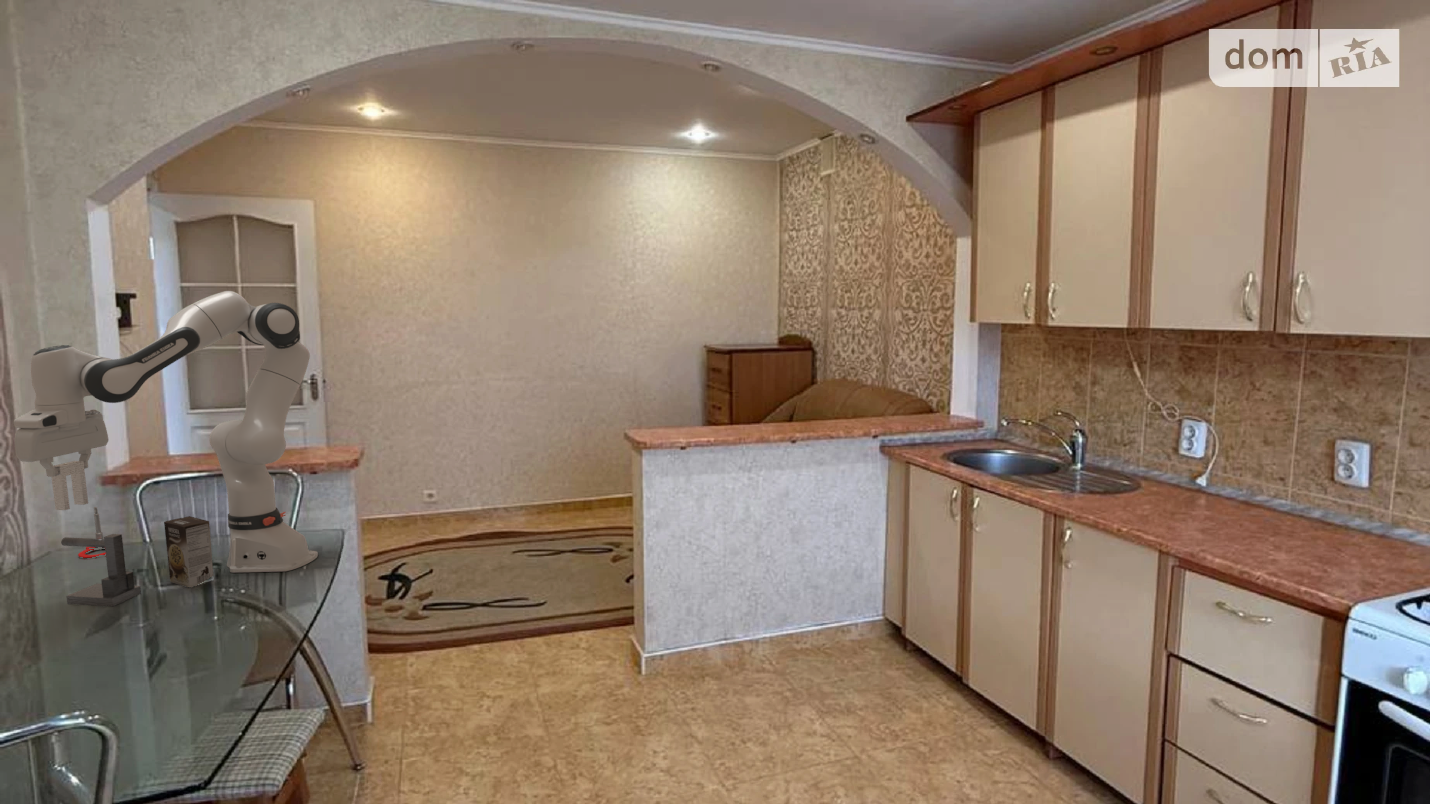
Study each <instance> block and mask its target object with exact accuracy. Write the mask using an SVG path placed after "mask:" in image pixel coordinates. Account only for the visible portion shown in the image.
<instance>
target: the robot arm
mask: <svg viewBox="0 0 1430 804" xmlns="http://www.w3.org/2000/svg"><path fill="white" fill-rule="evenodd" d="M235 333H238V334H239V335H240V336H242V337H243V338H244V339H246V340H247V341H248V342H250V343H251V344H254V345H258V346H264V357H263V361H262V363H260V365H259V368H258V369H257V371H256V373H255V375H254V377H253V380H252V381H251V383H250V385H249V387H248V389H247V391H246V393H245V401H246V405H245V407H246V408H245V411H244V416H243V418H242V419H241V420H240V419H231V420H226V421H223V422H220V423H218V424H217V425H215V427H214V428H212V430H211V432H210V434H209V444H210V447H211V448H212V449H213V451H214V453H215V455H216V457H217V461H218V463H219V467H220V469H221V472H222V476H223V478H224V482H225V486H226V493H227V503H228V512H229V513H227V524H228V525H227V526H228V528H229V531H230V538H229V539H230V540H229V551H228V552H229V553H228V558H227V562H226V567H227V568H229V573H234V574H235V573H263V572H267V573H268V572H269V573H270V572H271V573H273V572H277V573H278V572H289V571H292V570H295V569H299V568H301V567H304V566H306V565H307V564H309V563H312V562H313V561H314V560H316V559H317V558H318V556H319V554H318V551H317V550H311V549H310V550H309V547H308V542H307V539H306V536H305V535H304V534H302V533H300V532H299V531H297V530H296V529H294V528H293V527H291V526H290V525H289V524H287V523H286V522H285V521H284V519H283V518H284V517H286V516H287V514H286V513H287V512H286V511H282V512H280V510H279V509H278V508H277V505H276V504H277V503H276V491H275V482H274V479H273V477H272V476H271V475H270V473H269V471H268V468H267V466H266V465H269V464H273V463H275V462H277V461H279V460H280V459H281V458H282V456H283V455H284V454H285V450H286V445H287V443H286V439H285V436H284V434H285V427H286V421H287V417H288V412H289V410H290V409H291V408H290V407H291V405H292V403H293V401H294V399H295V397H296V395H297V393H298V391H299V388H300V386H301V384H302V382H303V380H304V377H305V376H306V375H305V374H306V372H307V369H308V366H309V361H310V357H311V355H310V352H309V350H308V348H307V347H306V346H305V345H304V344H302V343H301V342H299V341H300V339H301V333H300V319H299V316H298V314H297V312H296V311H295V310H294V308H292V307H290V306H289V305H287V304H284V303H281V302H270V303H265V304H264V303H263V304H260V305H257V306H255V305H252V304H251V303H248V300H246V298H244V297H243V296H242V295H241V294H239V293H237V292H235V291H233V290H224V291H221V292H218V293H217V292H216V293H215V294H211V295H209V296H207V297H204V298H201V299H200V300H198V301H195V302H193V303H192V304H189V305H187V306H185V307H184V308H182V309H180V310H179V311H178V312H177V313H175V314H174V315H173V316H171V317H170V318H169V319H168V320H167V323H166V326H165V331H164V333H163V334H162V335H161V336H160V337H159V338H158V339H156V340H155V341H152V342H151V343H150V344H148V345H146V346H144V347H143V348H141V349H139V350H138V351H136V352H134V353H132V354H130V355H128V356H125V357H123V358H116V359H115V358H114V359H113V358H109V357H104V356H100V355H95V354H92V353H89V352H86V351H84V350H83V351H82V350H81V349H78V348H76V347H74V346H73V345H69V344H68V345H67V344H65V345H63V344H61V345H55V346H53V345H52V346H49V347H44V348H41V349H39V350H37V351H36V352H34V353H33V354H32V356H31V359H30V361H31V362H30V376H31V377H30V378H31V385H32V388H33V390H34V393H35V399H34V408H33V409H31V410H30V411H28V412H26V413H24V414H22V415H20V416H18V417H16V418H15V419H14V420H13V427H14V428H16V429H17V430H16V431H15V434H14V450H15V456H16V458H17V459H18V460H19V461H20V462H24V463H32V462H38V461H39V464H40V465H41V466H42V467H43V469H44V470H45V473H46V474H45V475H46V476H47V477H48V478H52V477H53V476H57V475H59V468H55V467H54V465H53V462H54V458H56V457H61V456H65V455H69V454H73V453H78V454H79V455H80V456H79V459H78V461H83V462H84V470H85V469H88V468H89V460H90V457H91V456H92V449H96V448H101V447H105V446H107V445H108V442H109V434H108V430H107V427H106V423H105V421H104V417H103V413H101V412H100V411H98V410H96V409H90V410H85V400H84V399H85V397H89V396H90V397H93V398H95V399H96V400H98V401H100V402H104V403H110V404H117V403H122V402H125V401H128V400H130V399H131V398H132V397H134V396H135V395H136V394H137V393H138V391H139V390H140V389H141V387H142V386H143V385H144V384H145V383H146V381H147V380H149V378H151V377H152V376H154V375H156V374H157V373H159V372H160V371H162V370H164V369H165V368H167V367H169V366H170V365H172V364H173V363H175V362H177V361H178V360H180V359H182V358H184V357H185V356H188V355H191V354H194V353H195V352H198V351H200V350H203V349H205V348H207V347H209V346H212V345H214V344H216V343H217V342H219V341H221V340H223V339H225V338H226V337H228V336H230V335H231V334H235Z"/></svg>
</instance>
